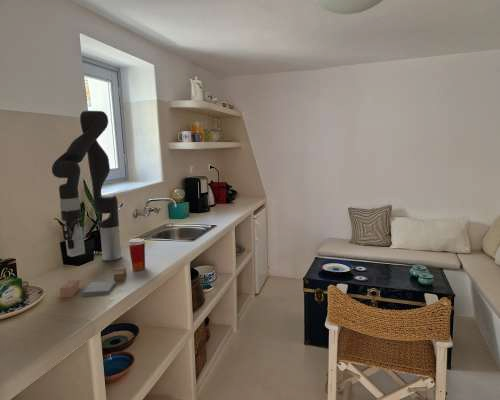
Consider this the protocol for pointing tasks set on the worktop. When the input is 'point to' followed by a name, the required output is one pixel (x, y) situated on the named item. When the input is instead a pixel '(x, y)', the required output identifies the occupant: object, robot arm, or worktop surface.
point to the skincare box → (76, 243)
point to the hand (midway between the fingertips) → (75, 245)
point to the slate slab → (99, 288)
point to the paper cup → (137, 253)
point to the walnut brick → (120, 274)
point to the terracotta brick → (70, 288)
